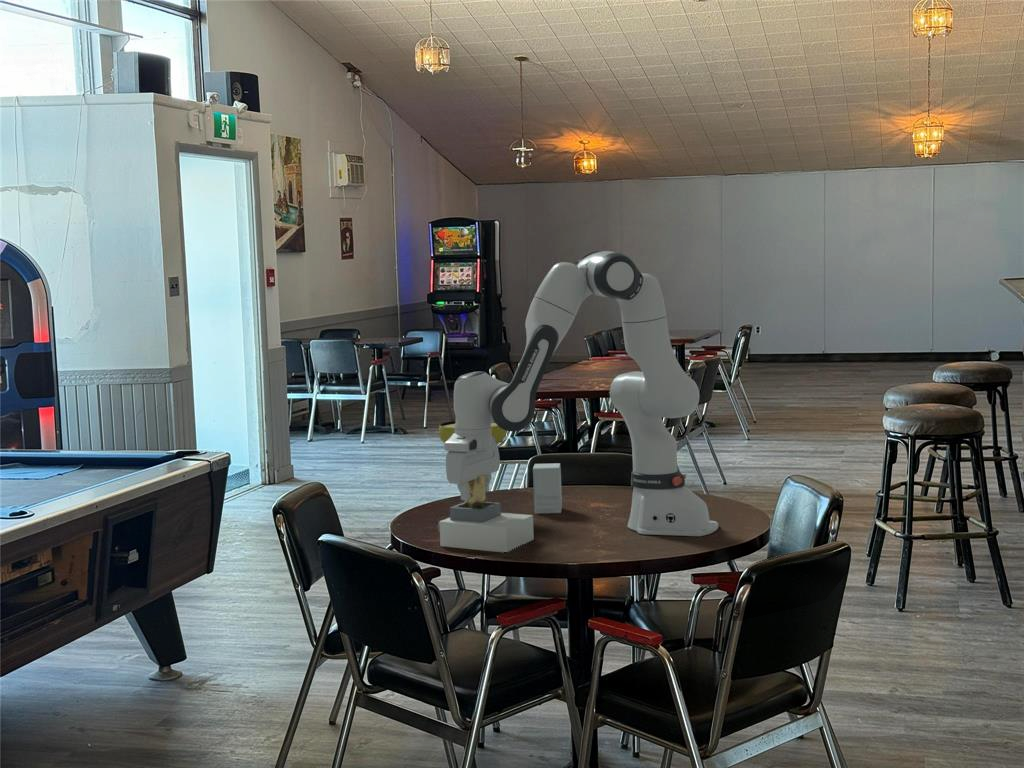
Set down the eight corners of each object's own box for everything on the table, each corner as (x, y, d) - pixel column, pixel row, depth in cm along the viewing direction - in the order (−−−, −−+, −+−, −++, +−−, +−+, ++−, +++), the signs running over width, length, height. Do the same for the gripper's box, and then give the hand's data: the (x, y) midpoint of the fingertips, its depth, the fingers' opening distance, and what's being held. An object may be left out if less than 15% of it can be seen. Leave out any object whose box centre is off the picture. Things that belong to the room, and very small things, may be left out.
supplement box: (562, 508, 307) (561, 462, 305) (561, 513, 299) (559, 467, 298) (535, 508, 307) (534, 463, 306) (533, 514, 300) (532, 467, 299)
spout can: (489, 515, 271) (487, 462, 269) (479, 519, 266) (477, 465, 265) (472, 513, 273) (469, 461, 272) (461, 518, 269) (459, 464, 267)
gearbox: (533, 539, 271) (532, 503, 270) (506, 552, 258) (505, 514, 258) (455, 532, 281) (454, 497, 280) (426, 544, 269) (424, 508, 268)
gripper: (482, 432, 278) (484, 487, 280) (440, 444, 260) (442, 503, 262) (505, 433, 276) (506, 488, 277) (463, 446, 258) (465, 504, 259)
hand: (475, 495), depth 269 cm, fingers open, 8 cm apart
